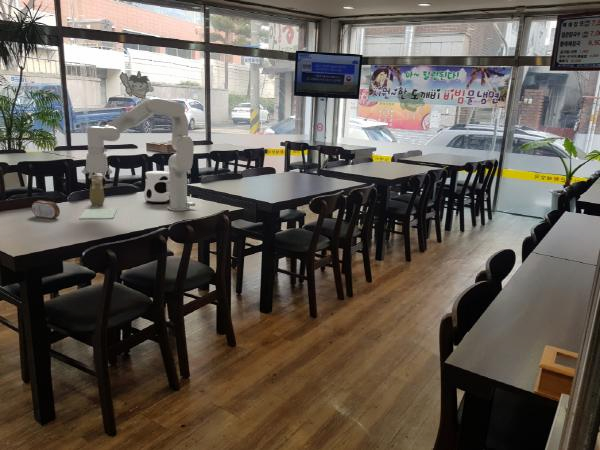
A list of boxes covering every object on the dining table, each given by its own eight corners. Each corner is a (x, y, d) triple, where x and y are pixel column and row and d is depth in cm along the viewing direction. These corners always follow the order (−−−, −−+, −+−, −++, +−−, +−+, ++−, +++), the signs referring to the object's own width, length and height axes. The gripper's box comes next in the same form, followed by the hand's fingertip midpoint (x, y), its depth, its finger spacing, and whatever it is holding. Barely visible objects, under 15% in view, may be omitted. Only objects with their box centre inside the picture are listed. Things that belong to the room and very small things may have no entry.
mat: (117, 209, 268) (117, 208, 268) (112, 218, 248) (112, 217, 247) (86, 210, 264) (85, 208, 264) (79, 219, 243) (78, 218, 243)
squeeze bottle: (107, 204, 282) (106, 173, 278) (100, 206, 274) (99, 175, 270) (94, 203, 282) (92, 172, 278) (87, 205, 275) (85, 174, 270)
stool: (103, 187, 255) (103, 175, 254) (102, 189, 251) (101, 176, 249) (93, 187, 254) (92, 175, 253) (92, 189, 250) (91, 176, 248)
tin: (60, 218, 243) (59, 202, 241) (56, 220, 240) (54, 203, 238) (35, 215, 246) (34, 199, 244) (31, 216, 243) (29, 200, 241)
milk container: (144, 199, 301) (143, 170, 297) (173, 199, 306) (172, 170, 302) (144, 204, 285) (143, 174, 281) (174, 204, 290) (174, 174, 286)
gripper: (114, 150, 254) (115, 184, 258) (79, 149, 249) (81, 184, 254) (113, 152, 247) (114, 187, 251) (76, 151, 242) (78, 187, 247)
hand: (97, 185), depth 252 cm, fingers closed on stool, 5 cm apart
